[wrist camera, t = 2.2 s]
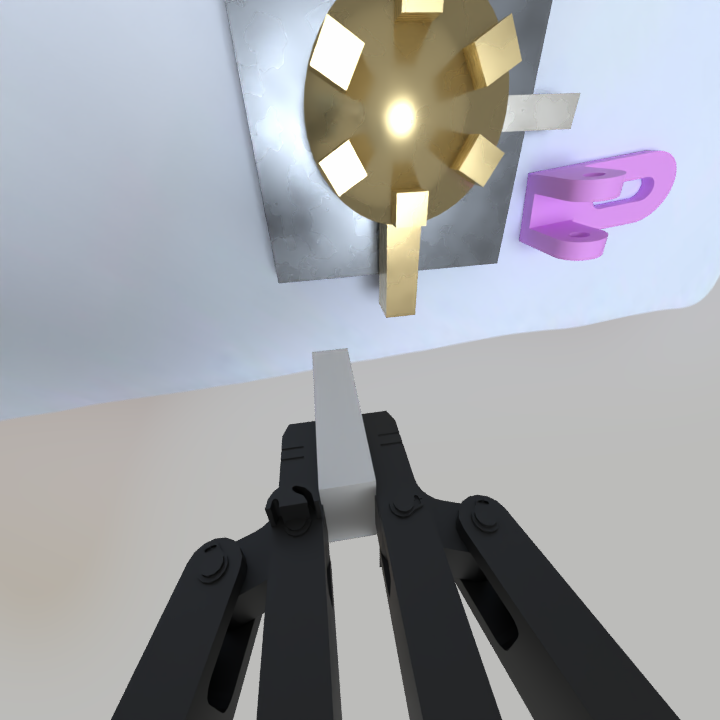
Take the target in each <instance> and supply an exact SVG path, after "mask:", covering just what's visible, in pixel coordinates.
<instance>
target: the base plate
mask: <svg viewBox="0 0 720 720" xmlns="http://www.w3.org/2000/svg"><path fill="white" fill-rule="evenodd" d="M335 1H336V0H225V4H226V9H227V14H228V19H229V25H230V30H231V35H232V40H233V46H234V51H235V56H236V61H237V67H238V72H239V77H240V82H241V88H242V93H243V98H244V104H245V109H246V114H247V119H248V125H249V130H250V135H251V140H252V146H253V151H254V156H255V161H256V167H257V172H258V177H259V182H260V188H261V193H262V198H263V204H264V209H265V214H266V219H267V225H268V230H269V235H270V240H271V246H272V251H273V256H274V261H275V267H276V272H277V277H278V282H279V283H287V282H298V281H309V280H320V279H330V278H341V277H352V276H363V275H374V274H379V222H375V221H372V220H370V219H367V218H365V217H363V216H361V215H359V214H358V213H356V212H355V211H353V210H352V209H350V208H349V207H348V206H347V205H346V204H345V203H343V202H342V201H341V200H340V199H339V198H338V196H337V195H336V194H335V193H334V192H333V191H332V189H331V188H330V186H329V185H328V184H327V182H326V181H325V179H324V178H323V176H322V175H321V173H320V171H319V169H318V167H317V165H316V163H315V161H314V158H313V156H312V153H311V150H310V147H309V143H308V139H307V135H306V129H305V123H304V108H303V104H304V87H305V79H306V73H307V66H308V62H309V58H310V54H311V50H312V47H313V44H314V41H315V38H316V36H317V33H318V31H319V28H320V26H321V24H322V22H323V20H324V19H325V17H326V15H327V13H328V11H329V9H330V8H331V7H332V5H333V4H334V2H335ZM488 1H489V3H490V5H491V6H492V8H493V10H494V12H495V14H496V17H497V19H498V21H499V20H501V19H503V18H504V17H506V16H508V15H509V14H511V13H512V16H513V21H514V25H515V30H516V35H517V40H518V44H519V49H520V54H521V58H522V61H521V62H520V63H518V64H517V65H516V66H514V67H513V68H512V69H510V70H509V97H508V104H507V112H506V116H505V121H504V125H503V129H502V132H501V135H500V138H499V141H498V144H497V146H496V147H497V148H499V149H500V150H501V151H502V152H504V153H505V154H504V155H503V157H502V158H501V160H500V162H499V163H498V165H497V166H496V168H495V169H494V171H493V173H492V174H491V176H490V177H489V179H488V181H487V182H486V184H485V185H484V187H481V186H477V185H474V186H473V187H472V188H471V189H470V190H469V192H468V193H467V194H466V195H465V196H464V197H463V198H462V199H460V200H459V201H458V202H457V203H456V204H455V205H453V206H452V207H451V208H449V209H448V210H446V211H445V212H443V213H441V214H440V215H438V216H436V217H433V218H431V219H429V220H427V221H426V226H421V234H420V249H419V263H418V270H429V269H440V268H450V267H461V266H472V265H483V264H494V263H497V261H498V256H499V252H500V247H501V242H502V237H503V233H504V228H505V223H506V218H507V214H508V209H509V204H510V199H511V195H512V190H513V185H514V180H515V176H516V171H517V166H518V161H519V157H520V152H521V147H522V142H523V138H524V133H525V131H534V130H556V129H571V125H572V121H573V118H574V114H575V111H576V107H577V103H578V100H579V96H580V93H564V94H533V90H534V85H535V81H536V76H537V71H538V66H539V62H540V57H541V52H542V47H543V43H544V38H545V33H546V28H547V24H548V19H549V14H550V9H551V5H552V0H488Z"/></svg>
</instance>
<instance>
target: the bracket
mask: <svg viewBox="0 0 720 720" xmlns="http://www.w3.org/2000/svg"><path fill="white" fill-rule="evenodd" d="M675 176H676V162H675V159H674V157H673V156H672V155H671V154H670V153H668V152H665V151H640V152H635V153H630V154H625V155H620V156H615V157H610V158H605V159H599V160H594V161H589V162H584V163H579V164H574V165H569V166H563V167H558V168H553V169H548V170H543V171H538V172H533V173H528V181H527V188H526V195H525V202H524V209H523V217H522V224H521V231H520V238H519V241H521V242H523V243H525V244H527V245H529V246H531V247H533V248H536V249H538V250H540V251H542V252H544V253H546V254H549V255H551V256H553V257H555V258H559V259H563V260H574V261H580V260H590V259H595V258H598V257H600V256H601V255H602V254H603V250H604V247H605V244H606V240H607V237H608V233H606V232H605V231H602V230H599V229H604V228H609V227H614V226H619V225H624V224H629V223H633V222H637V221H639V220H641V219H643V218H645V217H647V216H648V215H650V214H651V213H652V212H653V211H654V210H656V209H657V208H658V207H659V205H660V204H661V203H662V202H663V201H664V199H665V198H666V197H667V195H668V193H669V192H670V190H671V188H672V186H673V183H674V180H675ZM636 179H642V185H641V187H640V189H639V191H638V192H637V193H636V194H635V195H634V196H633V197H631V198H629V199H624V200H619V201H614V202H609V203H604V204H599V205H594V206H593V202H598V201H605V200H610V199H614V198H617V197H619V196H620V193H621V190H622V186H623V183H624V182H626V181H631V180H636Z"/></svg>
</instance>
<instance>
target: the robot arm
mask: <svg viewBox="0 0 720 720" xmlns="http://www.w3.org/2000/svg"><path fill="white" fill-rule="evenodd" d="M312 357H313V377H314V378H313V379H314V399H315V421H312V422H305V423H297V424H290V425H289V426H288V427H287V429H286V431H285V433H284V435H283V436H282V437H283V438H282V452H281V466H280V481H279V488H278V489H276V490H275V491H274V492H273V493H272V495H271V496H270V498H269V499H268V501H267V504H266V508H265V511H266V513H267V516H268V519H269V522H268V523H266V525H265V526H263V527H262V528H261V529H259V530H257V531H256V532H254V533H252V534H250V535H248V536H246V537H244V538H242V539H240V540H238V541H236V542H235V541H234V540H231V539H228V538H217V539H214V540H211V541H209V542H207V543H205V544H204V545H203V546H201V547H200V548H199V549H198V550H197V551H196V552H195V553H194V554H193V556H192V557H191V559H190V560H189V562H188V563H187V565H186V567H185V569H184V571H183V573H182V575H181V577H180V579H179V581H178V583H177V585H176V587H175V589H174V592H173V594H172V596H171V598H170V600H169V602H168V604H167V606H166V608H165V610H164V612H163V614H162V616H161V618H160V620H159V622H158V624H157V627H156V628H155V630H154V633H153V635H152V637H151V639H150V641H149V643H148V645H147V647H146V649H145V651H144V653H143V655H142V657H141V659H140V661H139V664H138V665H137V667H136V669H135V671H134V674H133V676H132V678H131V680H130V682H129V684H128V686H127V688H126V690H125V692H124V694H123V696H122V698H121V700H120V703H119V704H118V706H117V708H116V711H115V713H114V715H113V717H112V719H111V720H233V717H234V714H235V710H236V707H237V703H238V699H239V696H240V692H241V689H242V685H243V682H244V678H245V674H246V671H247V667H248V664H249V660H250V656H251V653H252V649H253V646H254V642H255V638H256V635H257V631H258V628H259V624H260V620H261V617H262V614H263V613H265V618H264V631H263V643H262V656H261V669H260V681H259V695H258V707H257V720H342V712H341V699H340V698H341V697H340V684H339V669H338V655H337V641H336V628H335V612H334V598H333V584H332V569H331V561H330V555H329V542H335V541H341V540H347V539H353V538H359V537H365V536H370V535H376V534H377V535H378V541H379V546H380V567H382V570H383V576H384V581H385V587H386V593H387V597H388V604H389V609H390V614H391V620H392V625H393V631H394V635H395V642H396V647H397V653H398V657H399V663H400V669H401V674H402V680H403V685H404V691H405V696H406V702H407V707H408V712H409V717H410V720H502V719H501V716H500V712H499V710H498V707H497V704H496V701H495V698H494V695H493V692H492V689H491V686H490V684H489V680H488V677H487V674H486V672H485V669H484V666H483V663H482V660H481V657H480V654H479V651H478V648H477V646H476V642H475V639H474V637H473V634H472V631H471V628H470V625H469V622H468V619H467V616H466V613H465V610H464V607H463V604H462V602H461V599H460V596H459V593H458V590H457V587H456V584H457V586H458V588H459V590H460V591H461V593H462V595H463V597H464V598H465V600H466V602H467V604H468V605H469V607H470V609H471V610H472V612H473V614H474V616H475V617H476V619H477V621H478V623H479V625H480V626H481V628H482V630H483V632H484V633H485V635H486V637H487V638H488V640H489V642H490V644H491V645H492V647H493V649H494V651H495V652H496V654H497V656H498V658H499V659H500V661H501V663H502V665H503V666H504V668H505V669H506V672H507V673H508V675H509V677H510V679H511V680H512V682H513V684H514V685H515V687H516V689H517V691H518V692H519V694H520V696H521V698H522V699H523V701H524V703H525V705H526V706H527V708H528V710H529V712H530V713H531V715H532V717H533V719H534V720H680V719H679V718H678V716H677V715H676V714H675V713H674V712H673V710H672V709H671V708H670V707H669V706H668V704H667V703H666V702H665V701H664V700H663V698H662V697H661V696H660V695H659V694H658V692H657V691H656V690H655V689H654V688H653V686H652V685H651V684H650V683H649V681H648V680H647V679H646V678H645V677H644V675H643V674H642V673H641V672H640V671H639V669H638V668H637V667H636V666H635V665H634V663H633V662H632V661H631V660H630V659H629V657H628V656H627V655H626V654H625V652H624V651H623V650H622V649H621V648H620V646H619V645H618V644H617V643H616V642H615V640H614V639H613V638H612V637H611V636H610V634H608V632H607V631H606V629H605V628H604V627H603V626H602V625H601V624H600V622H599V621H598V620H597V619H596V617H595V616H594V615H593V614H592V613H591V612H590V610H589V609H588V608H587V607H586V605H585V604H584V603H583V602H582V601H581V599H580V598H579V597H578V596H577V595H576V593H575V592H574V591H573V590H572V589H571V587H570V586H569V585H568V584H567V583H566V581H565V580H564V579H563V578H562V577H561V575H560V574H559V573H558V572H557V570H556V569H555V568H554V567H553V566H552V564H551V563H550V562H549V561H548V560H547V558H546V557H545V556H544V555H543V554H542V552H541V551H540V550H539V549H538V547H537V546H536V545H535V544H534V543H533V541H532V540H531V539H530V538H529V537H528V535H527V534H526V533H525V532H524V531H523V529H522V528H521V527H520V526H519V525H518V523H517V522H516V521H515V520H514V519H513V517H512V516H511V515H510V514H509V512H508V511H507V510H506V509H505V508H504V507H503V506H502V505H501V504H500V503H498V502H497V501H496V500H494V499H492V498H490V497H487V496H481V495H474V496H470V497H468V498H467V499H465V500H464V501H463V502H462V503H461V504H460V503H454V502H448V501H442V500H438V499H434V498H433V497H431V496H429V495H427V494H426V493H425V492H423V491H422V490H421V489H420V487H419V486H418V485H417V484H416V481H415V479H414V476H413V473H412V470H411V467H410V464H409V461H408V458H407V455H406V452H405V449H404V446H403V444H402V440H401V437H400V435H399V431H398V428H397V425H396V422H395V420H394V419H393V418H392V417H391V415H390V414H389V413H388V412H387V411H382V412H374V413H367V414H361V409H360V405H359V400H358V396H357V391H356V386H355V382H354V377H353V373H352V368H351V363H350V358H349V354H348V349H347V348H345V349H336V350H327V351H318V352H312ZM455 583H456V584H455Z"/></svg>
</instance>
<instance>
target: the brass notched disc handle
mask: <svg viewBox="0 0 720 720" xmlns="http://www.w3.org/2000/svg"><path fill="white" fill-rule="evenodd" d="M521 61H522V58H521V54H520V49H519V44H518V40H517V35H516V30H515V25H514V21H513V16H512V13H511V14H509V15H508V16H506V17H504V18H503V19H501V20H499V21H498V19H497V17H496V14H495V12H494V10H493V8H492V6H491V5H490V3H489V1H488V0H336V1H335V2H334V4H333V5H332V7H331V8H330V9H329V11H328V13H327V15H326V17H325V19H324V20H323V22H322V24H321V26H320V28H319V31H318V33H317V36H316V38H315V41H314V44H313V47H312V50H311V54H310V58H309V62H308V66H307V73H306V79H305V87H304V104H303V108H304V123H305V129H306V135H307V139H308V143H309V147H310V150H311V153H312V156H313V158H314V161H315V163H316V165H317V167H318V169H319V171H320V173H321V175H322V176H323V178H324V179H325V181H326V182H327V184H328V185H329V186H330V188H331V189H332V191H333V192H334V193H335V194H336V195H337V196H338V198H339V199H340V200H341V201H342V202H343V203H345V204H346V205H347V206H348V207H349V208H350V209H352V210H353V211H355V212H356V213H358V214H359V215H361V216H363V217H365V218H367V219H370V220H372V221H375V222H379V304H380V306H381V308H382V310H383V312H384V314H385V316H386V318H388V317H397V316H407V315H415V307H416V292H417V278H418V263H419V249H420V234H421V226H426V221H427V220H429V219H431V218H433V217H436V216H438V215H440V214H441V213H443V212H445V211H446V210H448V209H449V208H451V207H452V206H453V205H455V204H456V203H457V202H458V201H459V200H460V199H462V198H463V197H464V196H465V195H466V194H467V193H468V192H469V190H470V189H471V188H472V187H473V186H474V185H477V186H481V187H484V185H485V184H486V182H487V181H488V179H489V177H490V176H491V174H492V173H493V171H494V169H495V168H496V166H497V165H498V163H499V162H500V160H501V158H502V157H503V155H504V154H505V153H504V152H502V151H501V150H500V149H499V148H497V147H496V146H497V144H498V141H499V138H500V135H501V132H502V129H503V125H504V121H505V116H506V112H507V104H508V97H509V70H510V69H512V68H513V67H514V66H516V65H517V64H518V63H520V62H521Z"/></svg>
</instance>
